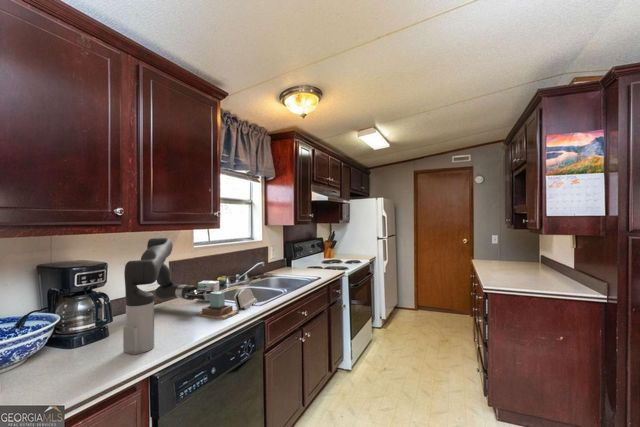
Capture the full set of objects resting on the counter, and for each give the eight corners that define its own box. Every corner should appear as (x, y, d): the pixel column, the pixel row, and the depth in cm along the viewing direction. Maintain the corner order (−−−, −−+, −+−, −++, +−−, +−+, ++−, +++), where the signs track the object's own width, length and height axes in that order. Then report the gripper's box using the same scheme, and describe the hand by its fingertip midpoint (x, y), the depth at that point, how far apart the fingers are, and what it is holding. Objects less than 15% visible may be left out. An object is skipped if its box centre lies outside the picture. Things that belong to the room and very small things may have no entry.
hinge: (245, 309, 164) (239, 292, 164) (237, 312, 164) (231, 294, 165) (257, 301, 180) (252, 285, 181) (250, 303, 181) (245, 287, 182)
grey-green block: (219, 313, 154) (218, 293, 154) (209, 312, 157) (209, 292, 157) (224, 311, 158) (224, 292, 158) (215, 310, 160) (215, 291, 160)
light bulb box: (197, 301, 183) (197, 282, 183) (203, 298, 190) (203, 280, 190) (214, 301, 182) (214, 283, 182) (219, 298, 188) (219, 280, 188)
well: (223, 319, 149) (223, 312, 149) (195, 315, 156) (195, 308, 156) (238, 312, 159) (238, 306, 159) (211, 309, 166) (211, 302, 166)
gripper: (175, 288, 160) (199, 290, 153) (196, 282, 173) (219, 284, 166) (175, 302, 160) (199, 306, 153) (196, 295, 173) (219, 298, 166)
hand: (209, 295), depth 160 cm, fingers open, 8 cm apart
